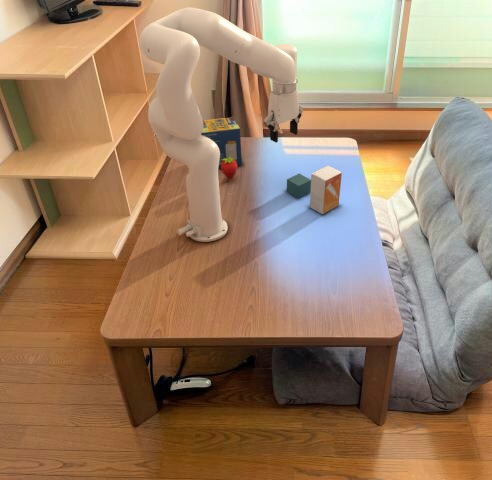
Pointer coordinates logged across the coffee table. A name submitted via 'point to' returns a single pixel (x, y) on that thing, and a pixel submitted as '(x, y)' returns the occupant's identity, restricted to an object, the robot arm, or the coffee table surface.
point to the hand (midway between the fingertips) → (283, 136)
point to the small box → (325, 189)
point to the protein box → (224, 137)
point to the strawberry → (229, 167)
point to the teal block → (298, 185)
